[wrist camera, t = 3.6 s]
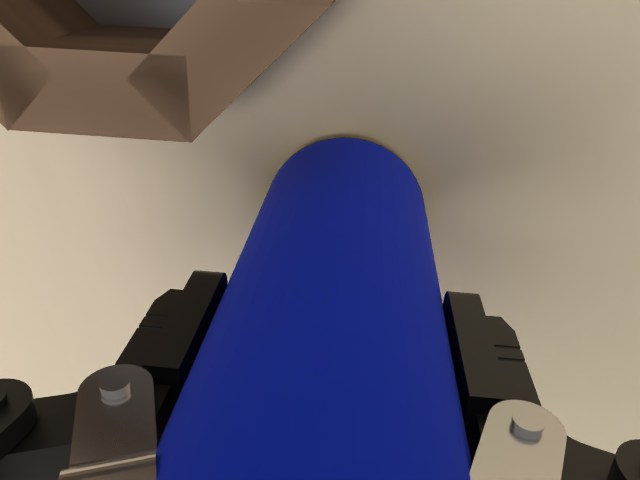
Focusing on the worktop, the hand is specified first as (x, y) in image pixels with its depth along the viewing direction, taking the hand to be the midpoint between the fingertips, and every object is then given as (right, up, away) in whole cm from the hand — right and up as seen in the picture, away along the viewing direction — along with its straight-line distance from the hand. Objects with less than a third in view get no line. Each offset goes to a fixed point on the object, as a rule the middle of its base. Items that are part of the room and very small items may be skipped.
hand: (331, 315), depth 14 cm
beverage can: (+1, +3, +6) cm, 7 cm away
